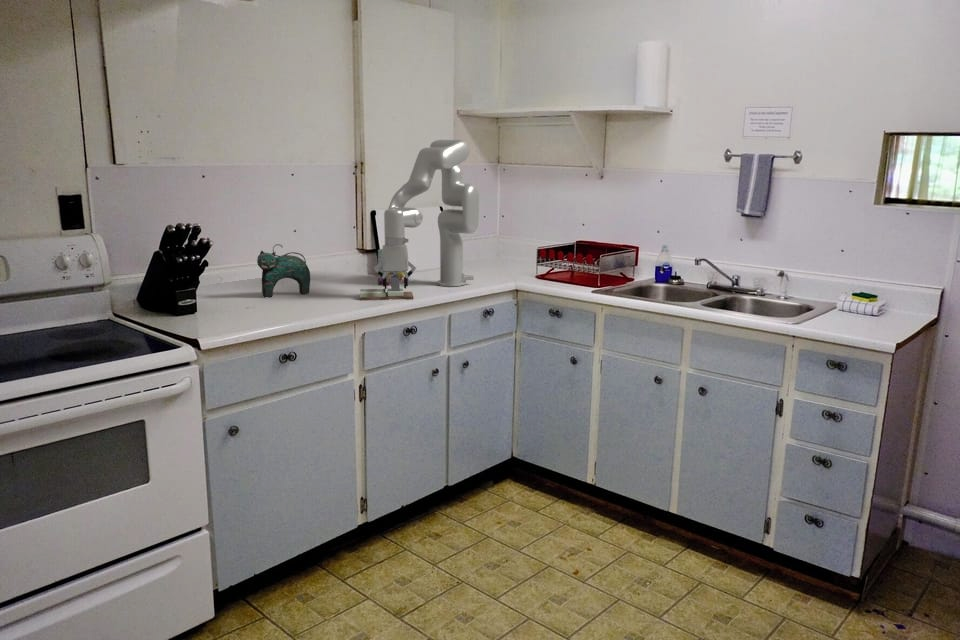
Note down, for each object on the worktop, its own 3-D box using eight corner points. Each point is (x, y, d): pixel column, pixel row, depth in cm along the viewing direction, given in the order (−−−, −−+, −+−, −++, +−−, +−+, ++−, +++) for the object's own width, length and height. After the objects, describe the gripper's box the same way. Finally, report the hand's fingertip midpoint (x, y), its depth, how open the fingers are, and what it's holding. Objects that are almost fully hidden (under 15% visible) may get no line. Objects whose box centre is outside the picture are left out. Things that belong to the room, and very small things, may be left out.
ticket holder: (411, 294, 287) (411, 287, 286) (413, 299, 276) (413, 292, 276) (360, 295, 284) (360, 288, 284) (360, 300, 274) (359, 293, 273)
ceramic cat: (261, 298, 275) (258, 245, 270) (256, 296, 280) (253, 244, 276) (312, 294, 285) (310, 243, 280) (307, 291, 290) (305, 241, 286)
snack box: (390, 285, 306) (389, 250, 303) (377, 285, 307) (376, 249, 304) (405, 278, 326) (404, 244, 323) (393, 277, 327) (392, 244, 324)
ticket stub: (402, 291, 285) (402, 275, 284) (403, 295, 277) (403, 279, 275) (387, 292, 284) (387, 275, 283) (387, 296, 276) (387, 279, 274)
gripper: (416, 240, 281) (417, 286, 285) (371, 241, 279) (372, 286, 282) (418, 242, 274) (418, 289, 278) (371, 243, 271) (372, 290, 275)
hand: (395, 287), depth 280 cm, fingers open, 6 cm apart
